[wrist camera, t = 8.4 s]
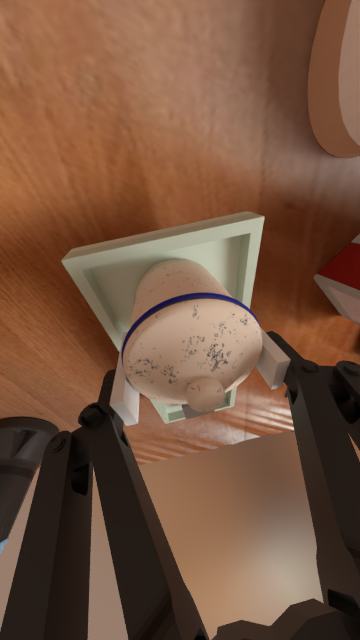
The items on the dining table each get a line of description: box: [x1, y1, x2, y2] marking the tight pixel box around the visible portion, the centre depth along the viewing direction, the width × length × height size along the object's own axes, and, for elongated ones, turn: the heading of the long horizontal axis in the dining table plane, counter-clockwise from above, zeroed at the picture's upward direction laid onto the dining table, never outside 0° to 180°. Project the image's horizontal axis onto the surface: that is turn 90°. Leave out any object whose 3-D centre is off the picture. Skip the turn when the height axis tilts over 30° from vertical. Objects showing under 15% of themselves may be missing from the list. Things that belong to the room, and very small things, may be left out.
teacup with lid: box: [121, 259, 263, 412], centre depth 14 cm, size 12×9×12 cm
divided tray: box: [61, 211, 265, 424], centre depth 26 cm, size 16×38×3 cm, turn 10°
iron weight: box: [181, 404, 214, 419], centre depth 33 cm, size 6×6×3 cm
